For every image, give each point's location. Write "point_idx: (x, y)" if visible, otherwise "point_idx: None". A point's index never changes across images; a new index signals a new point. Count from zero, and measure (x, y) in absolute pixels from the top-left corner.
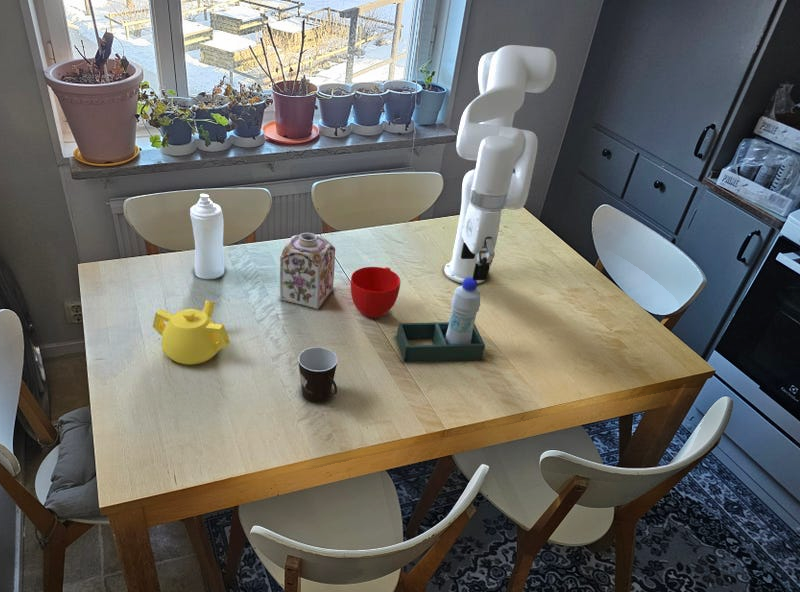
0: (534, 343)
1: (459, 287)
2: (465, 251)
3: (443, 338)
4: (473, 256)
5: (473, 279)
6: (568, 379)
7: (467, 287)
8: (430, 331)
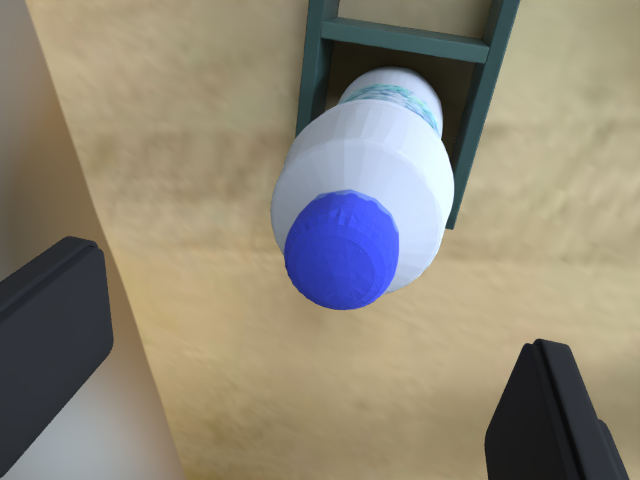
0: (356, 361)
1: (399, 184)
2: (538, 436)
3: (365, 40)
4: (490, 454)
5: (69, 239)
6: (195, 348)
7: (299, 215)
8: (490, 23)
